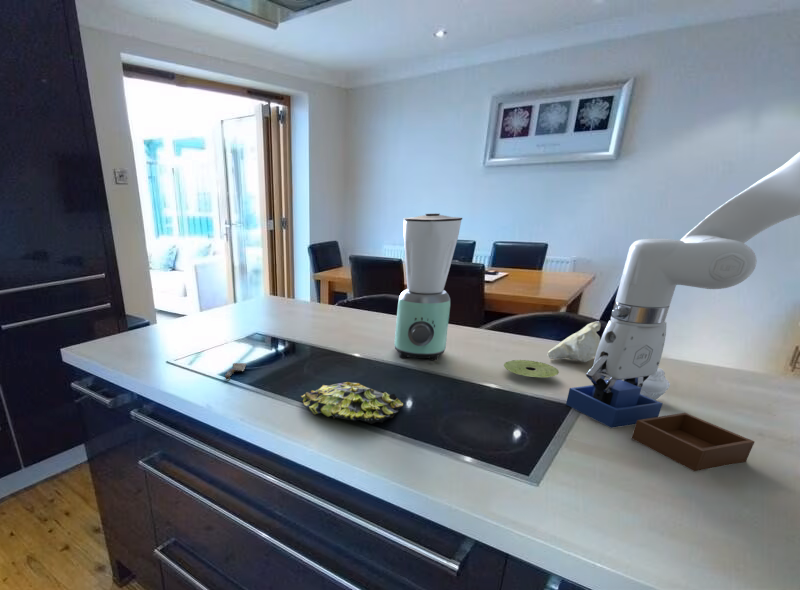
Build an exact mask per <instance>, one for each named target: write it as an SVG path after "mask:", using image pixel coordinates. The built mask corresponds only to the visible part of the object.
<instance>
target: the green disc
mask: <svg viewBox="0 0 800 590" xmlns="http://www.w3.org/2000/svg"><path fill="white" fill-rule="evenodd" d="M503 367H504V368H505V370H507V371H509V372H511V373H513V374H516V375H519V376H524V377H528V378H530V377H531V378H551V377H552V378H553V377H556V376H557V375H559V373H560V371H559V369H558V368H556V367H555V366H552V365H550V364H548V363H546V362H541V361H535V360H528V359H527V360H526V359H514V360H508V361H505V362H504V364H503Z"/></svg>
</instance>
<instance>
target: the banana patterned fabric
mask: <svg viewBox="0 0 800 590" xmlns="http://www.w3.org/2000/svg"><path fill="white" fill-rule="evenodd" d="M300 397H301V398H302V399H303V400H302V403H303V406H305V407H306V408H307V409H308V410H309V411H310V412H311V413H312V414H313V415H318V414H323V415H324V416H326V417H327V418H329V417H331V416H332V417H333V419H335V418H336V419H341V420H343V419H344V420H346V421H359V420H360V421H362V422H366V423H368V424H375V423H383V422H385V421H387V420H389V419H393V418H394V417H395V415H397V414H398V413H399V412H400V410H401V409H402V407H403V406H404V403H403V402H402V401H401V400H400V399H399V398H398V397H397V395H396V394H395V393H390V394H389V393H387V391H385V392H384V391H383V390H376V389H373V388H371V387H367V386H365V385H363V384H361V383H359V382H350V381H346V382H339V383H334V384H330V385H325V384H322V386H320V387H319V388H318V389H316V390H313V389H311V391H306V392H305V393H304V394H303V395H300Z"/></svg>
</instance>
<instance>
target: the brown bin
mask: <svg viewBox="0 0 800 590" xmlns="http://www.w3.org/2000/svg"><path fill="white" fill-rule="evenodd" d="M634 425H635V426H634V429H633V432H632V435H631V438H630V439H631V440H633V441H635V442H637V443H639V444H640V445H642V446H644V447H647V448H649V449H651V450H653V451H654V452H656V453H658V454H660V455H662V456H664V457H666V458H667V459H669V460H672V461H673V462H675V463H677V464H678V465H679V464H680V465H681V466H683V467H685V468H687V469H689V470H691V471H693V472H698V471H704V470H709V469H715V468H720V467H725V466H730V465H735V464H740V463H745V462H747V460H748V458H749V456H750V453H751V451H752V449H753V448H754V445H755V443H756V441H754V440H752V439H749V438H747V437H744V436H742V435H740V434H737V433H736V432H733V431H730V430H728V429H726V428H724V427H721V426H719V425H716V424H713V423H712V422H709V421H706V420H704V419H702V418H699V417H697V416H694V415H692V414H690V413H687V412H680V413H675V414H673V413H672V414H667V415H660V416H658V417H654V418H647V419H641V420H637V422H636V424H634Z"/></svg>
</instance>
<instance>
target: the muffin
mask: <svg viewBox="0 0 800 590" xmlns="http://www.w3.org/2000/svg"><path fill="white" fill-rule="evenodd" d="M670 387H671V383H670V381H669V380H668V379H667V378H666V372H665V371H664V369H663V368H660V367H658V369H657V371H656V373H654V374H652V375H650V376H649V377H648V378H647V379H646V380H645V381H644V382H643V386H642V387H641V391H640V394H641V395H644V396H646V397H649V398H651V399H653V400H656V401H657V400H658V399H659V398H660V397H661V396H663V395H664V394H665V393H666V392H667V391H668V390H669V389H670Z"/></svg>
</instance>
